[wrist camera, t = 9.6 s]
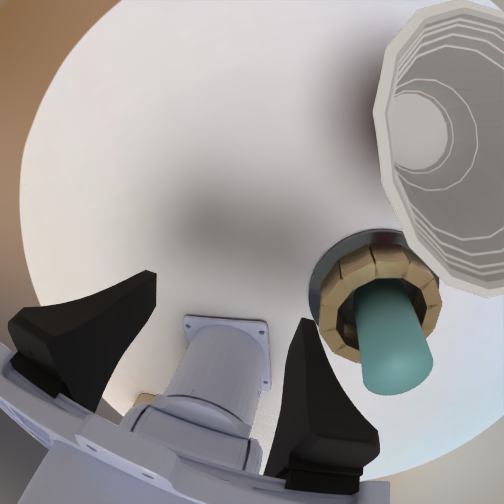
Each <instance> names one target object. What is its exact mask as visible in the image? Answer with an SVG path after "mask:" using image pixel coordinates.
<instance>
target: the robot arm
mask: <svg viewBox="0 0 504 504" xmlns="http://www.w3.org/2000/svg"><path fill="white" fill-rule="evenodd" d="M156 278H157V274H156V273H153V272H150V271H148V270H145V271H143V272H140V273H138V274H136V275H134V276H132V277H130V278H128V279H126V280H124V281H122V282H120V283H118V284H116V285H114V286H112V287H109V288H107V289H105V290H102V291H100V292H98V293H95V294H93V295H90V296H87V297H84V298H81V299H78V300H74V301H70V302H66V303H61V304H56V305H49V306H41V307H24V308H23V309H21V310H20V311H19V312H18V313H17V314H16V315H15V316H14V317H13V318H12V319H11V320H10V321H9V322H8V330H9V333H10V335H11V337H12V340H13V342H14V344H15V346H16V348H17V350H18V352H17V353H16V354H15V355H14V354H13V352H12V351H11V350H10V349H9V348H7V347H6V346H5V345H4V344H3V343H1V342H0V408H1V409H2V410H4V411H5V412H6V413H7V414H8V415H9V416H10V417H11V418H12V419H13V420H15V422H17V423H18V424H19V425H20V426H21V427H22V428H24V429H25V430H26V431H27V432H28V433H29V434H30V435H32V436H33V437H34V438H35V439H37V440H38V441H39V442H40V443H42V444H43V445H44V446H46V447H47V448H48V449H49V451H48V453H47V455H46V456H45V458H44V459H43V461H42V463H41V464H40V466H39V468H38V469H37V471H36V473H35V474H34V476H33V478H32V479H31V481H30V483H29V484H28V486H27V488H26V490H25V491H24V493H23V495H22V496H21V498H20V500H19V502H18V504H390V482H388V481H363V482H360V483H359V481H360V476H362V475H363V467H364V466H365V465H367V464H368V463H370V462H371V461H373V460H374V459H375V458H376V457H377V456H378V455H379V453H380V442H379V436H378V431H377V430H376V429H375V428H374V427H373V426H372V425H371V424H370V423H369V422H368V421H367V420H366V419H365V418H364V416H363V415H362V414H361V413H360V412H359V411H358V409H357V408H356V407H355V406H354V404H353V403H352V402H351V400H350V399H349V397H348V396H347V395H346V393H345V392H344V390H343V388H342V387H341V385H340V383H339V382H338V380H337V378H336V376H335V374H334V372H333V370H332V368H331V365H330V363H329V361H328V359H327V356H326V353H325V351H324V348H323V346H322V343H321V340H320V337H319V333H318V330H317V327H316V323H315V321H314V320H310V319H306V318H303V317H302V318H301V320H300V323H299V325H298V327H297V330H296V332H295V335H294V337H293V339H292V342H291V344H290V346H289V350H288V355H287V360H286V364H285V373H284V384H283V394H282V404H281V410H280V415H279V419H278V423H277V428H276V432H275V436H274V440H273V443H272V447H271V451H270V454H269V458H268V461H267V464H266V468H265V471H264V474H263V475H259V471H260V467H261V462H262V448H261V446H260V445H259V442H258V440H257V439H254V438H249V436H250V432H251V429H252V425H253V421H254V417H255V413H256V409H257V405H258V401H259V396H260V392H261V390H265V391H268V390H270V389H271V373H270V357H269V340H268V326H267V324H266V323H265V322H262V321H246V320H231V319H218V318H206V317H195V316H184V318H183V319H182V322H183V326H184V329H185V333H186V336H187V340H188V344H189V347H188V349H187V351H186V353H185V355H184V357H183V359H182V360H181V362H180V364H179V366H178V368H177V370H176V372H175V374H174V376H173V378H172V380H171V381H170V383H169V385H168V387H167V389H166V391H165V393H164V395H160V394H157V395H156V397H155V398H154V400H153V402H152V404H150V403H148V402H141V403H139V404H138V405H135V406H133V407H132V408H131V409H129V411H128V412H127V413H126V414H125V416H124V417H123V419H122V421H121V422H120V424H119V426H118V425H116V424H114V423H112V422H110V421H108V420H106V419H104V418H102V417H100V416H98V415H97V414H95V411H96V409H97V406H98V404H99V401H100V399H101V397H102V394H103V392H104V390H105V388H106V385H107V383H108V381H109V379H110V377H111V375H112V373H113V371H114V369H115V368H116V366H117V364H118V362H119V360H120V359H121V357H122V355H123V354H124V352H125V351H126V349H127V348H128V347H129V345H130V344H131V343H132V341H133V340H134V339H135V337H136V336H137V335H138V333H139V332H140V331H141V329H142V328H143V327H144V325H145V324H146V322H147V321H148V319H149V318H150V316H151V314H152V312H153V310H154V308H155V307H156ZM188 324H189V325H190V326H189V325H188ZM261 330H262V331H264V332H261Z"/></svg>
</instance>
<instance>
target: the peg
mask: <svg viewBox="0 0 504 504" xmlns="http://www.w3.org/2000/svg"><path fill="white" fill-rule="evenodd" d="M353 308H354V314H355V320H356V327H357V334H358V341H359V349H360V357H361V365H362V374H363V382H364V385H365V387H366V388H367V389H368V390H369V391H371V392H373V393H375V394H379V395H396V394H401V393H404V392H407V391H409V390H411V389H413V388H415V387H416V386H418V385H419V384H420V383H422V382H423V381H424V380H425V379H426V378H427V376H428V375H429V374H430V372H431V370H432V367H433V358H432V355H431V352H430V349H429V347H428V344H427V341H426V339H425V336H424V333H423V331H422V328H421V326H420V323H419V321H418V318H417V316H416V313H415V311H414V309H413V306H412V304H411V302H410V299H409V297H408V295H407V293H406V290H405V288H404V286H403V284H402V282H401V281H400V280H399V279H398V278H376V279H374V280H372V281H370V282H368V283H366V284H364V285H362V286H360V287H358V288H356V290H355V292H354V294H353Z"/></svg>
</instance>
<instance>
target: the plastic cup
mask: <svg viewBox="0 0 504 504" xmlns="http://www.w3.org/2000/svg"><path fill="white" fill-rule="evenodd" d="M373 118H374V124H375V132H376V140H377V145H378V153H379V162H380V172H381V183H382V187H383V189H384V191H385V193H386V195H387V197H388V199H389V201H390V204H391V206H392V208H393V210H394V212H395V215H396V217H397V219H398V222H399V224H400V226H401V229H402V231H403V233H404V236H405V238H406V241H407V243H408V246H409V247H410V248H411V249H412V250H413V251H414V252H415V253H416V254H417V255H418V256H419V257H420V258H421V259H422V260H423V261H424V262H425V263H426V264H427V265H428V266H429V268H430V269H431V270H432V271H433V272H434V273H435V274H436V275H437V276H438V277H439V278H440V279H441V280H442V281H443V282H444V283H445V284H446V285H448V286H451V287H454V288H457V289H460V290H463V291H466V292H469V293H472V294H475V295H478V296H481V297H484V298H488V297H493V296H498V295H503V294H504V12H502V11H499V10H496V9H493V8H490V7H487V6H484V5H480V4H477V3H473V2H469V1H465V0H452V1H448V2H444V3H440V4H436V5H433V6H429V7H426V8H422V9H419V10H417V11H416V12H415V13H414V14H413V16H412V17H411V18H410V19H409V20H408V22H407V23H406V24H405V25H404V26H403V28H402V29H401V30H400V31H399V33H398V34H397V35H396V36H395V37H394V39H393V40H392V41H391V42H390V44H389V45H388V46H387V47H386V48H385V54H384V59H383V65H382V70H381V75H380V80H379V85H378V89H377V94H376V98H375V103H374V107H373Z"/></svg>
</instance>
